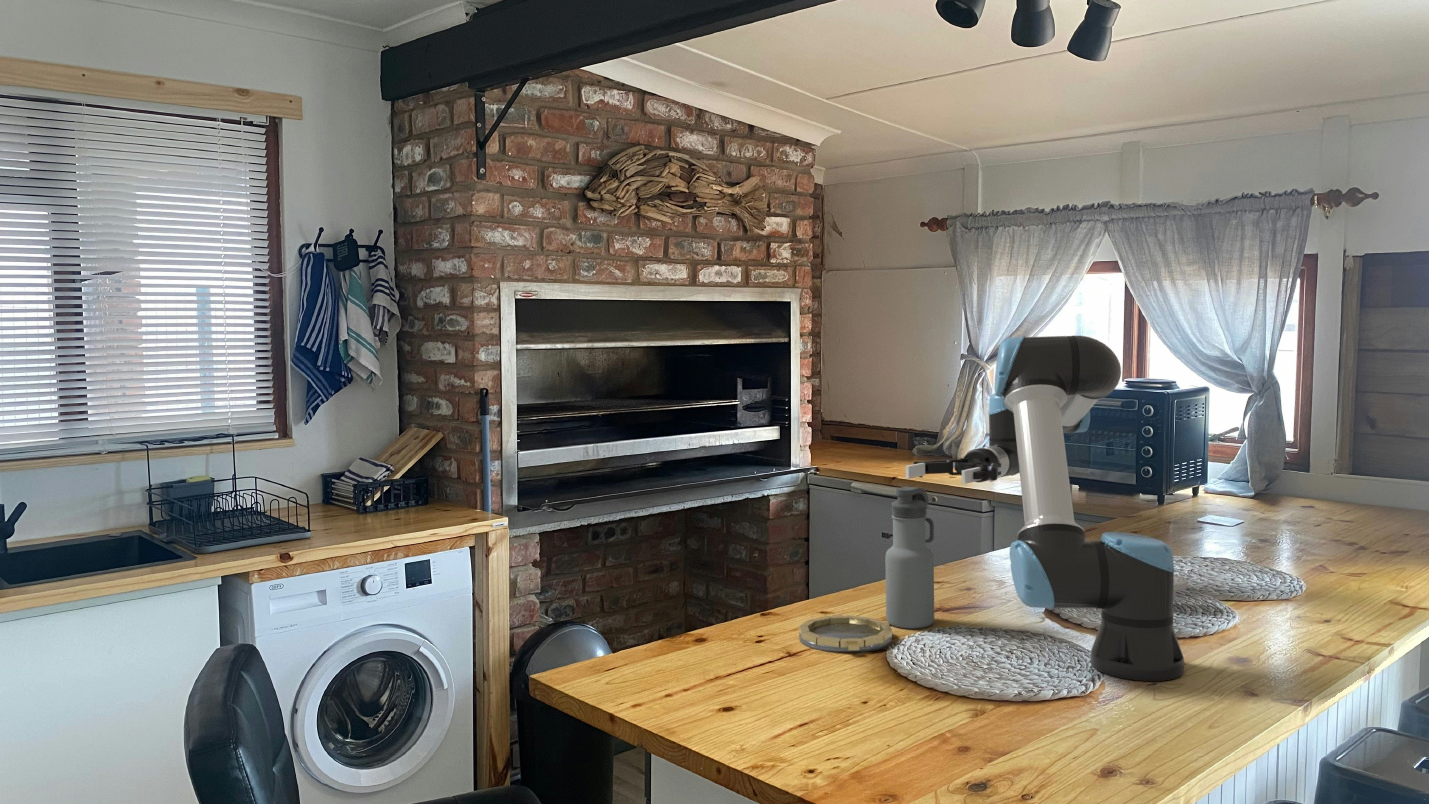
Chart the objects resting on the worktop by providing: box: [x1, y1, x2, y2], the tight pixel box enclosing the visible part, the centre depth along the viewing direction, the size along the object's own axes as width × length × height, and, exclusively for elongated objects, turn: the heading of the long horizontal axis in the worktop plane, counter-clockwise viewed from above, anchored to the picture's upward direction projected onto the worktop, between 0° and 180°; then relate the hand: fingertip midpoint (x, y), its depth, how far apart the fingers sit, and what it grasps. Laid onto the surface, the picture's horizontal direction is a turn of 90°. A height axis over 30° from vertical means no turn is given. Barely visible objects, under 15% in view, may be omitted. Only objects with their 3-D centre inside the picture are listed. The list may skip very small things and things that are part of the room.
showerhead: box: [1173, 574, 1189, 602], centre depth 216 cm, size 9×7×10 cm
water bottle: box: [884, 486, 935, 630], centre depth 209 cm, size 10×10×28 cm
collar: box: [798, 614, 893, 654], centre depth 199 cm, size 22×18×2 cm
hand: (934, 474), depth 215 cm, fingers open, 13 cm apart
